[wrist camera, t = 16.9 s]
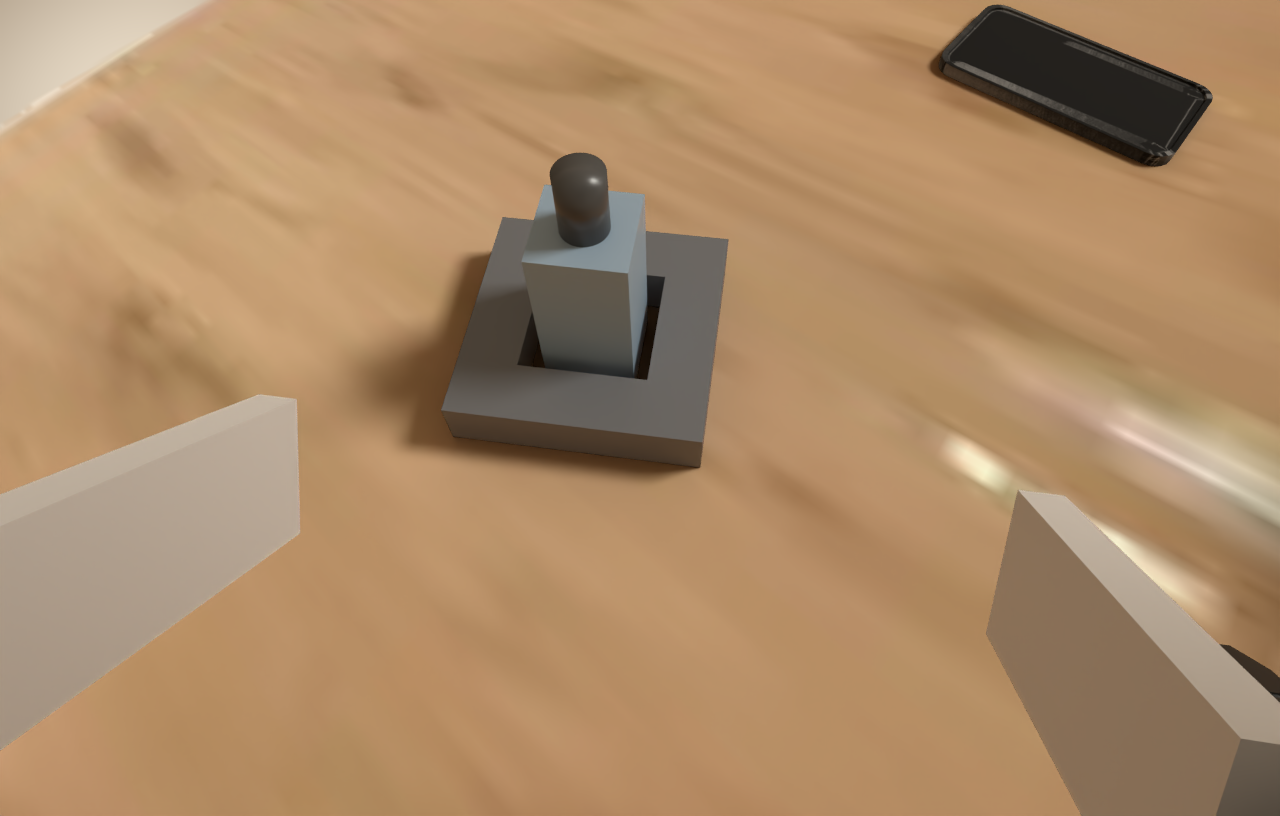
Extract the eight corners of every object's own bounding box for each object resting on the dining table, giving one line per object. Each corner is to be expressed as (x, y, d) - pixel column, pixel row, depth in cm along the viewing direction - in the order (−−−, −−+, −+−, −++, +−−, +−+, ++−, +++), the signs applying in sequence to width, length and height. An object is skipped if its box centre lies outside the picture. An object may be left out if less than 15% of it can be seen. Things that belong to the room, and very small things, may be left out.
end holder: (725, 270, 44) (728, 239, 42) (700, 467, 38) (702, 442, 36) (510, 248, 45) (502, 217, 43) (453, 436, 39) (441, 410, 37)
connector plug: (647, 320, 42) (643, 138, 32) (634, 391, 40) (625, 220, 30) (565, 311, 43) (534, 128, 32) (548, 380, 41) (509, 208, 30)
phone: (1168, 162, 46) (935, 58, 51) (1158, 177, 47) (930, 73, 52) (1219, 90, 49) (994, -1, 54) (1208, 106, 50) (988, 14, 55)
